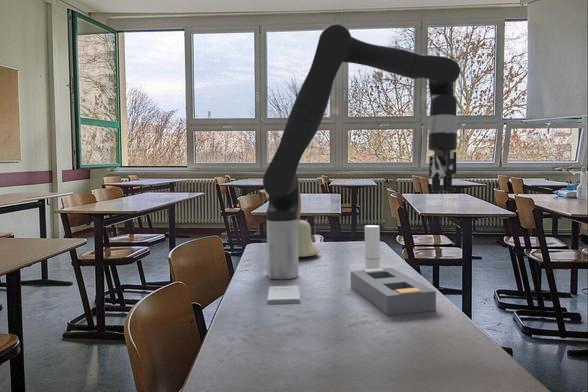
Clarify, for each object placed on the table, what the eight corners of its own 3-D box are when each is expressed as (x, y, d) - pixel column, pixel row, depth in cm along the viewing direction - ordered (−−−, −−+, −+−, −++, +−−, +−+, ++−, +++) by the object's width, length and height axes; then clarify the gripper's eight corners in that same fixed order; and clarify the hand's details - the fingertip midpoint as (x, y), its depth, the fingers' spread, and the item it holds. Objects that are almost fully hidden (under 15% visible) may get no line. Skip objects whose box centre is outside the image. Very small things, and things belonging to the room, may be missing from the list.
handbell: (269, 258, 171) (266, 188, 168) (291, 250, 183) (290, 185, 181) (306, 262, 163) (304, 188, 160) (327, 254, 175) (326, 185, 173)
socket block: (435, 310, 110) (435, 289, 110) (387, 315, 108) (387, 294, 107) (391, 283, 134) (391, 266, 133) (350, 287, 131) (350, 270, 131)
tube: (379, 278, 140) (379, 227, 138) (364, 278, 140) (364, 227, 139) (380, 274, 144) (379, 225, 142) (365, 274, 145) (365, 225, 143)
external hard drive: (267, 306, 119) (269, 291, 131) (300, 305, 119) (299, 290, 131) (267, 299, 119) (268, 285, 131) (300, 298, 119) (298, 284, 131)
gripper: (421, 136, 141) (419, 191, 140) (438, 128, 126) (437, 190, 126) (446, 137, 141) (444, 192, 141) (466, 129, 127) (465, 191, 126)
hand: (441, 191), depth 133 cm, fingers open, 8 cm apart
